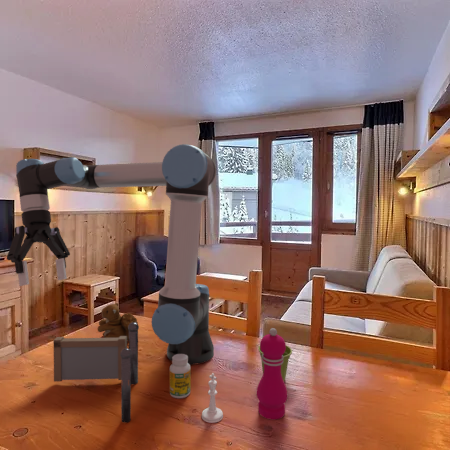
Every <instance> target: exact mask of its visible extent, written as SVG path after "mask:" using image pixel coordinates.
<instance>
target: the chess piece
mask: <svg viewBox="0 0 450 450" xmlns="http://www.w3.org/2000/svg"><path fill="white" fill-rule="evenodd" d="M208 377H209V379H210V380H209V381H207V382H208V383H207V384H208V386H209V390H208V392H207V395H209V405H208V407H206V408H205V409H203V411H202V412H201V419H202V421H204V422H205V423H206V422H207V423H210V424H211V423H212V424H216V423H218V422H220V421H222V419H223V418H224V414H223V411H222V409H221V408H219V407H217V406H216V405H217V404H216V396H217V394H218V391H217V389H216V387H217V385H218V382H217V376H215V373H213V372H212V373H211V374H210V375H209V376H208Z"/></svg>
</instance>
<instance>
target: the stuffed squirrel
mask: <svg viewBox="0 0 450 450" xmlns="http://www.w3.org/2000/svg"><path fill="white" fill-rule="evenodd" d="M101 317H102V319H100V320H99V322H98V325H99V326H98V327H97V332H99V333H102V336H103V338H119V337H120V336H127V342H129V330H128V326H129V324H130V323H132V322H135V323H137V324H138V325H139V323H138V319H137V318H136V317H135V316H134V314H132V313H131V312H129V313H124V314H123V315H121V314H120V308H119V302H115V303H110V304H108V305H106V306H105V307H103V308H102V310H101Z"/></svg>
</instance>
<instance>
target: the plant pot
mask: <svg viewBox="0 0 450 450" xmlns="http://www.w3.org/2000/svg"><path fill="white" fill-rule="evenodd" d="M257 347H258V352H259V356H260V359H261V360H260V361H261V368H262V369H261V370H262V373H263V372H264V363H263V362H262V354H263V353H262V351H261V349H260V345H258V346H257ZM292 353H293V350H292V348H291V347H290V346H289V345H286V350H285V353H284V354H283V357H284V358H283V364H281V375H282V378H283V381H284V382H285V381H286V377H287V371H288V364H289V359H290V357H291V355H292Z"/></svg>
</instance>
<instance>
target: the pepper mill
mask: <svg viewBox="0 0 450 450" xmlns="http://www.w3.org/2000/svg"><path fill="white" fill-rule="evenodd" d="M268 332H269V334H265V335H264V336H263V337H262V338H261V340H260V343H259V346H260V349H261V351H262V353H263V354H262V361H261V363H262V362H263V363H264V372H263V371H262V376H261V378H260V380H259V382H258V385H257V387H256V398H257V400H258V405H257V406H258V407H257V410H258V413H259V415H260V416H261V417H263V418H265V419H267V420H273V421H274V420H280V419H282V418H283V417H284V416H285V415H286V404H285V403H286V401H287V400H288V390H287V389H288V388H287V386H286V384H285V381H283V378H282V375H281V364H283V358H284V357H283V354H284V353H285V350H286V342H285V341H286V340H285V339H284V338H283V337H282V336H281V335H279V334H278V331H277V329H276V328H274V327H271V328H270V330H269V331H268Z"/></svg>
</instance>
